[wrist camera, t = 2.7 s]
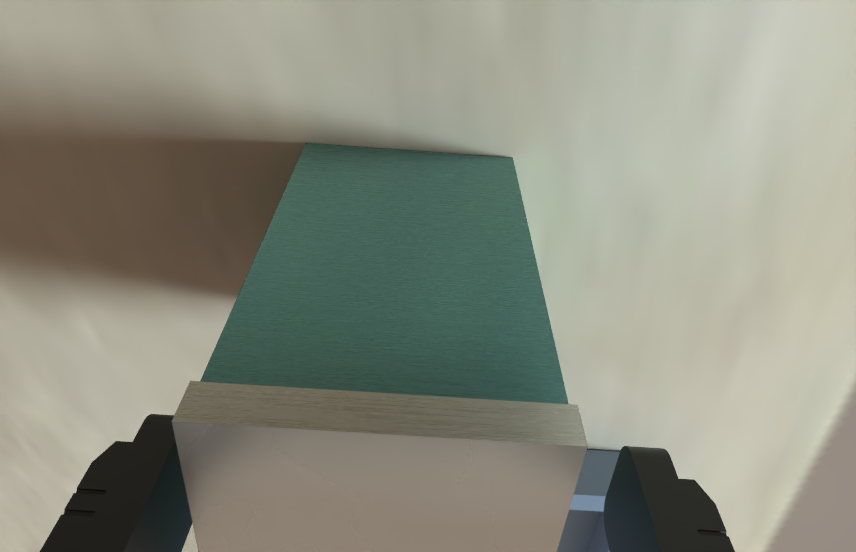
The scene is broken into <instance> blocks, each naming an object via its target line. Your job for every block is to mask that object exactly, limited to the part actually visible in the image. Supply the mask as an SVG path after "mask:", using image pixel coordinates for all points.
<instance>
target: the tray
mask: <svg viewBox="0 0 856 552" xmlns="http://www.w3.org/2000/svg"><path fill="white" fill-rule="evenodd" d="M619 454H620V452H618V451H602V450H586V454H585V457H584V461H583V464H582V467H581V471H580V474H579V478H578V481H577V484H576V488H575V491H574V494H573V498H572V501H571V505H570V508H569V511H568V515H567V518H566V522H565V525H564V528H563V532H562V535H561V538H560V542H559V545H558V549H557V552H610V551H609V547H608V542H607V538H606V533H605V527H604V503H605V498H606V494H607V491H608V488H609V485H610V482H611V479H612V476H613V472H614V469H615V466H616V463H617V460H618V457H619Z"/></svg>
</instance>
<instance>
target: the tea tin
mask: <svg viewBox="0 0 856 552" xmlns="http://www.w3.org/2000/svg"><path fill="white" fill-rule="evenodd" d="M172 425H173V430H174V435H175V440H176V445H177V450H178V455H179V459H180V464H181V469H182V474H183V479H184V484H185V489H186V494H187V498H188V503H189V508H190V513H191V518H192V523H193V528H194V532H195V537H196V542H197V547H198V552H557V549H558V545H559V542H560V538H561V535H562V532H563V528H564V525H565V522H566V518H567V515H568V511H569V508H570V505H571V501H572V498H573V494H574V491H575V488H576V484H577V481H578V478H579V474H580V471H581V467H582V464H583V461H584V457H585V454H586V450H587V447H588V446H587V442H586V438H585V433H584V429H583V425H582V421H581V417H580V413H579V409H578V405H570V404H568V400H567V395H566V391H565V387H564V382H563V378H562V373H561V369H560V365H559V360H558V356H557V351H556V347H555V342H554V338H553V334H552V329H551V325H550V320H549V316H548V312H547V307H546V303H545V298H544V294H543V289H542V285H541V281H540V276H539V272H538V267H537V263H536V259H535V254H534V250H533V245H532V241H531V236H530V232H529V228H528V223H527V219H526V214H525V210H524V206H523V201H522V197H521V192H520V188H519V183H518V179H517V175H516V170H515V166H514V161H513V158H512V157H498V156H484V155H470V154H456V153H442V152H428V151H414V150H400V149H386V148H372V147H358V146H344V145H330V144H316V143H305V146H304V148H303V150H302V152H301V155H300V157H299V159H298V162H297V164H296V166H295V168H294V171H293V173H292V175H291V177H290V180H289V182H288V184H287V186H286V189H285V191H284V193H283V195H282V198H281V200H280V202H279V204H278V207H277V209H276V211H275V214H274V216H273V218H272V220H271V223H270V225H269V227H268V229H267V232H266V234H265V236H264V238H263V241H262V243H261V245H260V247H259V250H258V252H257V254H256V257H255V259H254V261H253V263H252V266H251V268H250V270H249V272H248V275H247V277H246V279H245V281H244V284H243V286H242V288H241V290H240V293H239V295H238V297H237V299H236V302H235V304H234V306H233V309H232V311H231V313H230V315H229V318H228V320H227V322H226V324H225V327H224V329H223V331H222V333H221V336H220V338H219V340H218V342H217V345H216V347H215V349H214V351H213V354H212V356H211V358H210V361H209V363H208V365H207V367H206V370H205V372H204V374H203V376H202V379H201V381H200V382H199V381H190V383H189V385H188V387H187V389H186V391H185V394H184V396H183V398H182V400H181V402H180V404H179V407H178V409H177V411H176V413H175V415H174V417H173V420H172Z"/></svg>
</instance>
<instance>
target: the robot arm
mask: <svg viewBox="0 0 856 552" xmlns="http://www.w3.org/2000/svg"><path fill="white" fill-rule="evenodd" d="M173 417H174V415H159V414H150V415H149V416H147V417H146V419H145V420H144V422H143V424H142V425H141V427H140V429H139V431H138V433H137V435H136V437H135V439H134V440H133V442H121V441H116V442H115V443H114V444H112V445H111V446H110V447H109V448H108V449H107V450H106V451H104V452H103V453H102V454H101V455H100V456H99V457H98V458H96V459H95V460H94V461H93V462H92V463H91V465H90V467H89V468H88V470H87V472H86V473H85V475H84V477H83V479H82V480H81V482H80V484H79V485H78V487H77V492H76V493H74V494H73V496H72V497H71V499H70V501H69V503H68V504H67V506H66V508H65V512H64V514H63V515H61V516H60V518H59V520H58V521H57V523H56V525H55V526H54V528H53V530H52V532H51V533H50V535H49V537H48V538H47V540H46V542H45V544H44V545H43V547H42V549H41V550H40V552H181V551H182V548H183V546H184V543H185V541H186V538H187V535H188V533H189V530H190V528H191V525H192V518H191V513H190V508H189V503H188V498H187V494H186V489H185V484H184V479H183V474H182V469H181V464H180V459H179V455H178V450H177V445H176V440H175V435H174V430H173V425H172V420H173ZM604 527H605V533H606V538H607V542H608V547H609V551H610V552H735V551H734V549H733V546H732V544H731V541H730V539H729V537H728V536H726V529H725V527H724V524H723V522H722V519H721V517H720V514H719V512H718V509H717V507H716V505H715V503H714V502H713V501H712V500H711V498H710V497H709V496H708V495H707V494H706V493H705V492H704V490H703V489H702V488H701V487H700V486H699V485H698V483H697V482H696V481H695V480H688V479H678V476H677V474H676V471H675V468H674V466H673V463H672V460H671V457H670V455H669V453H668V452H667V451H666V450H665V449H661V448H646V447H630V446H624V447H623V448H622V449H621V451H620V454H619V457H618V460H617V463H616V466H615V469H614V472H613V476H612V479H611V482H610V485H609V488H608V491H607V494H606V498H605V503H604Z"/></svg>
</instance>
